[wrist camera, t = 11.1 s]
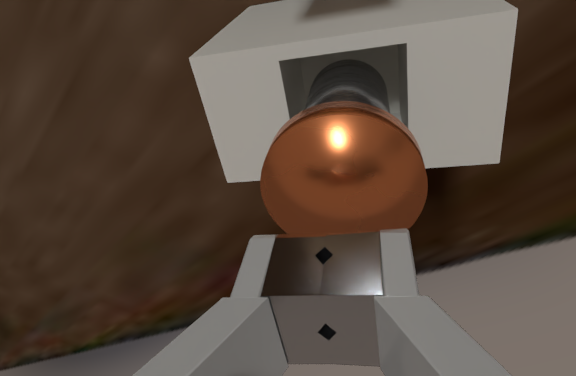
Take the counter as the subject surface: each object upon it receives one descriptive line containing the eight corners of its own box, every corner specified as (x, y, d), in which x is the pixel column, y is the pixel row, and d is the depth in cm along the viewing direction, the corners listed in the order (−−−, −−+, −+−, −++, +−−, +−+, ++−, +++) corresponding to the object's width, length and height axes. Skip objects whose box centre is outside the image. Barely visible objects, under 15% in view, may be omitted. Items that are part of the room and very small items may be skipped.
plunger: (403, 33, 13) (428, 105, 8) (405, 141, 15) (427, 250, 10) (284, 50, 14) (243, 124, 9) (302, 150, 16) (277, 254, 11)
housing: (455, -30, 19) (518, 9, 11) (451, 76, 21) (499, 163, 14) (249, 6, 21) (188, 57, 13) (269, 97, 23) (227, 182, 16)
